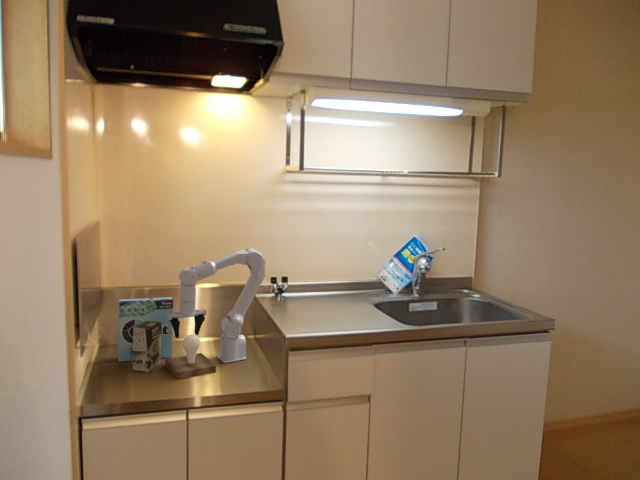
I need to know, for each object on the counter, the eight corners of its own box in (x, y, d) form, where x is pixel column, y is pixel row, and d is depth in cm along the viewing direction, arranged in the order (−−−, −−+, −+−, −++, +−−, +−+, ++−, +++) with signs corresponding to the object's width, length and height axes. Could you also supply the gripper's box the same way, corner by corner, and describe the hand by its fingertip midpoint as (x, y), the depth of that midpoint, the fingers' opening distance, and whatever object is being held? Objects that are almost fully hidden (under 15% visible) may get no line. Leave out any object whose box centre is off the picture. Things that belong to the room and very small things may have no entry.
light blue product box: (118, 362, 187) (118, 302, 184) (117, 357, 192) (118, 299, 189) (172, 357, 195) (173, 299, 192) (170, 352, 200) (171, 296, 197)
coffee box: (148, 372, 180) (148, 328, 178) (132, 370, 181) (132, 326, 179) (161, 363, 189) (162, 321, 187) (145, 361, 190) (146, 319, 188)
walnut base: (201, 359, 195) (201, 353, 195) (215, 372, 184) (216, 365, 183) (165, 365, 187) (165, 359, 187) (178, 379, 176) (178, 372, 175)
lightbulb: (190, 368, 179) (191, 338, 178) (178, 364, 182) (179, 335, 181) (203, 363, 184) (203, 334, 183) (191, 359, 187) (191, 331, 186)
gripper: (172, 305, 181) (171, 341, 182) (210, 301, 189) (209, 336, 191) (165, 300, 186) (165, 336, 188) (203, 296, 195) (202, 330, 196)
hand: (186, 335), depth 190 cm, fingers open, 7 cm apart
